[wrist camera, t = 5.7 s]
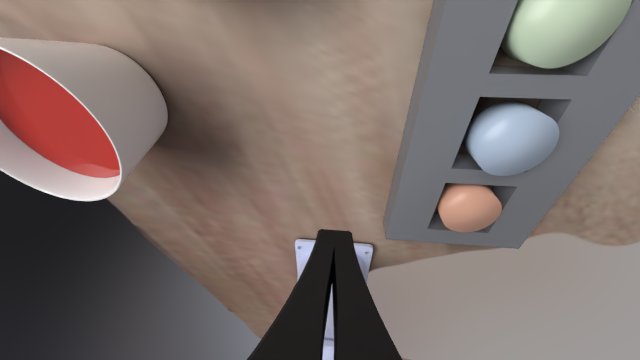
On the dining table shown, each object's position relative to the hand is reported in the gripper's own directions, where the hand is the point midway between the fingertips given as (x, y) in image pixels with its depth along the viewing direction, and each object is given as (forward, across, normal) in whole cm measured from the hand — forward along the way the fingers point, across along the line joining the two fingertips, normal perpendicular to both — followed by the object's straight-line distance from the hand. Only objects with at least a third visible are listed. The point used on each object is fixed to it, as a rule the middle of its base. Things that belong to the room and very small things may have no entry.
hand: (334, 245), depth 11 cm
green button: (+9, -10, -8) cm, 16 cm away
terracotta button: (+9, -10, +4) cm, 14 cm away
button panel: (+9, -10, -2) cm, 14 cm away
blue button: (+8, -10, -2) cm, 13 cm away
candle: (+10, +16, -3) cm, 19 cm away
